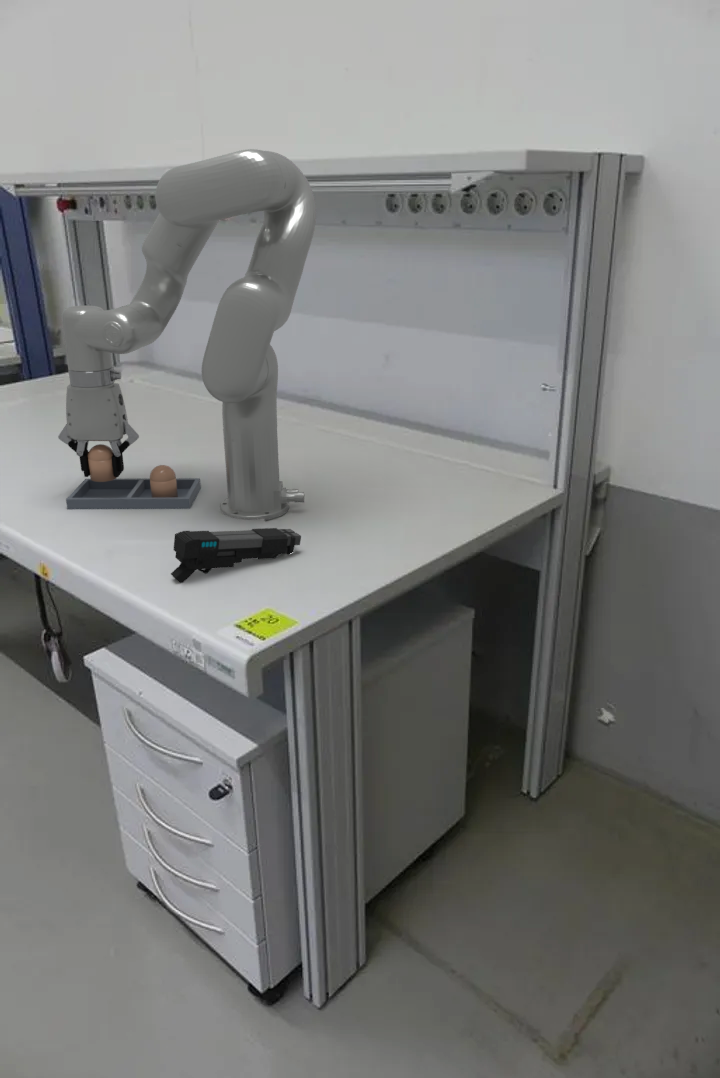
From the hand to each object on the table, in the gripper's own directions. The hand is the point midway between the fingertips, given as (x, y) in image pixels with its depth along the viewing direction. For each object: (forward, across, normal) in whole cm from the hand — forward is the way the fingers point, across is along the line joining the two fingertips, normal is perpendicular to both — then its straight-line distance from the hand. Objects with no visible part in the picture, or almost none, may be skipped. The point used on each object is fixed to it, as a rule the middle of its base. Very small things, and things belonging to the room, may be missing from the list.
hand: (103, 473), depth 151 cm
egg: (+1, 0, 0) cm, 1 cm away
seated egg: (+5, -11, 0) cm, 12 cm away
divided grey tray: (+5, -6, 0) cm, 8 cm away
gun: (+5, -29, +29) cm, 41 cm away
